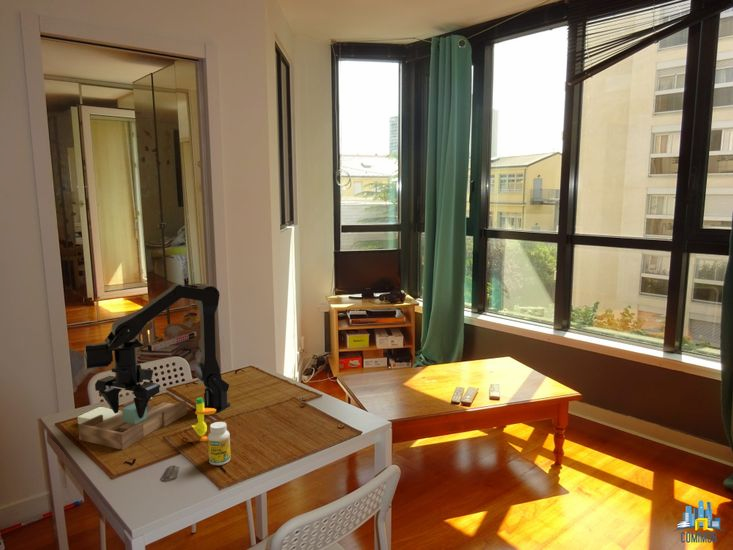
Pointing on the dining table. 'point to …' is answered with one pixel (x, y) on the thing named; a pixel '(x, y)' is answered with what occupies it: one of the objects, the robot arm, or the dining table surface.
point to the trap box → (129, 425)
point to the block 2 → (170, 473)
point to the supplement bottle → (219, 444)
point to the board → (97, 414)
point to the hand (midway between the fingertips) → (128, 415)
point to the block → (132, 414)
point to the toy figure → (202, 418)
